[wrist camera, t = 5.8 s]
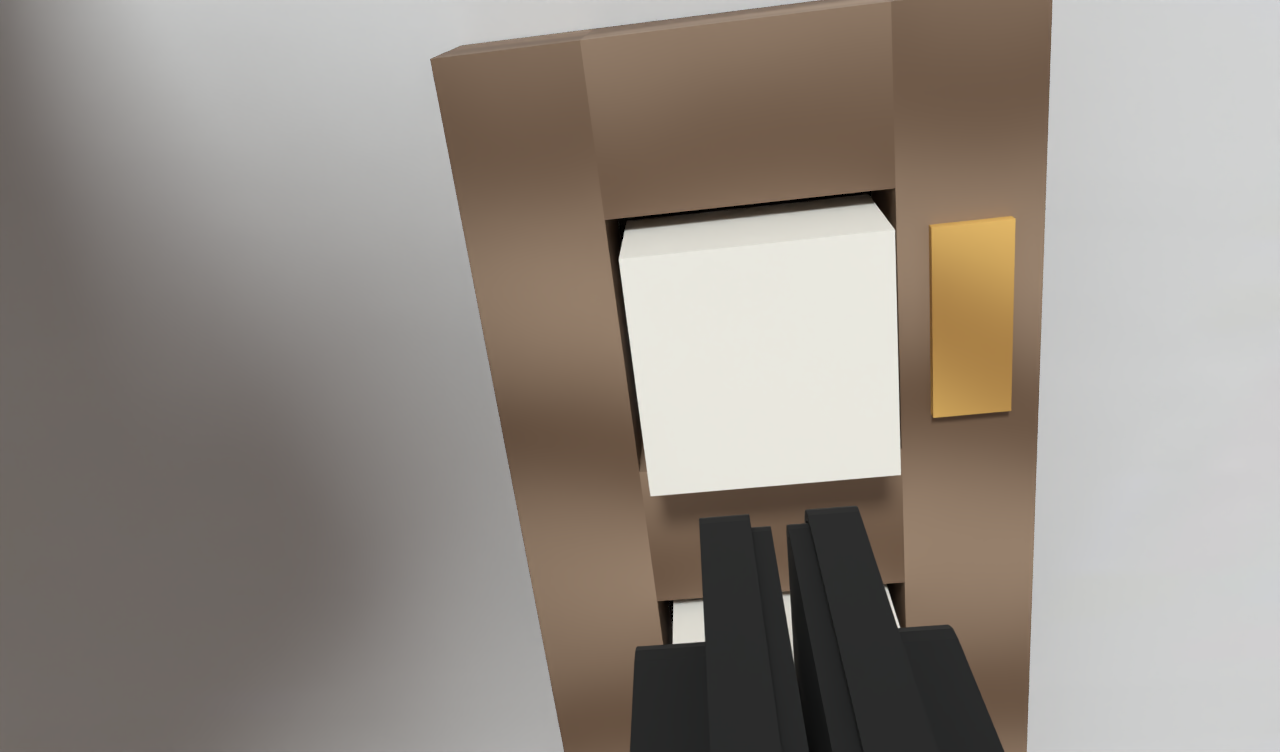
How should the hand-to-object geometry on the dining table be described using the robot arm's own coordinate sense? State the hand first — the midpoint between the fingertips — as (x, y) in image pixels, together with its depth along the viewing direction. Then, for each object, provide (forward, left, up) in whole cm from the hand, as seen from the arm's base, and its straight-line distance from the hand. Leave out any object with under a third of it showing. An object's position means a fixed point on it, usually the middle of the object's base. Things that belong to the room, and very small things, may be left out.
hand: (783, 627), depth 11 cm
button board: (+8, 0, -11) cm, 13 cm away
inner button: (0, 0, -9) cm, 9 cm away
